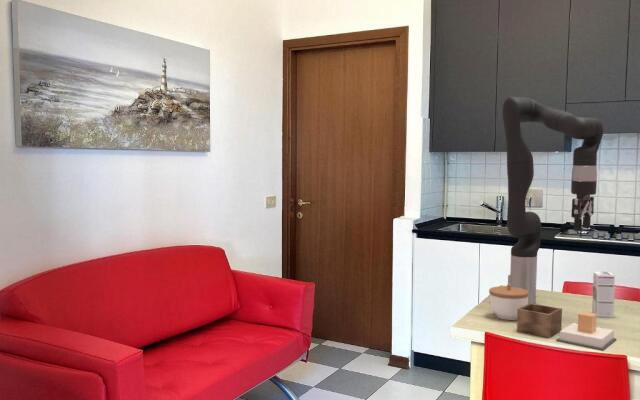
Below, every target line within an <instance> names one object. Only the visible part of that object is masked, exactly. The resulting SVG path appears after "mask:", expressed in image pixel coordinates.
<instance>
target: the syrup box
mask: <svg viewBox="0 0 640 400" xmlns="http://www.w3.org/2000/svg"><path fill="white" fill-rule="evenodd" d="M592 277H593V278H592V279H593V281H592V310H591V311H592V312H591V313H595V314H597V318H614V316H615V315H614V314H615V286H616V285H615V278H616V277H615V274H613V273H612V272H611V271H593V276H592Z"/></svg>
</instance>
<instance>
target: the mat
mask: <svg viewBox="0 0 640 400" xmlns="http://www.w3.org/2000/svg"><path fill="white" fill-rule="evenodd" d="M555 341H556V342H559V343H563V344H569V345H574V346H578V347H584V348H587V349H588V348H589V349H593V350H598V351H605V350H606V349H607V348H609V347H610V346H611V345H613V343H615V342H616V341H617V338H614V337H613V339H612V340H611V341H610V342H608V343H607V344H606V345H605V346H604V347H602V348H599V347H594V346H589V345H584V344H579V343H574V342H569V341H564V340H560V337H558V338H556V339H555Z"/></svg>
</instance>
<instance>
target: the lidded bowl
mask: <svg viewBox="0 0 640 400" xmlns="http://www.w3.org/2000/svg"><path fill="white" fill-rule="evenodd" d="M488 292H489V297H488V298H489V305H490V308H491V310H492V312H493V314H495V315H496V318H498V319H500V320H507V321H517V309H519V308H521V307H523V306H525V305H528V296H529V292H528V291H527V290H525V289H522V288H517V287H511V285H510V284H508V283H507V284H506V286H503V285H502V286H501V285H500V286H494V287H490V288H489V290H488Z"/></svg>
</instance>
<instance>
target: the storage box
mask: <svg viewBox="0 0 640 400" xmlns="http://www.w3.org/2000/svg"><path fill="white" fill-rule="evenodd" d="M562 317H563V308H561V307H554V306H549V305H543V304H538V303H533V304H532V303H530V304H527V305H525V306H523V307H521V308H519V309H517V320H516V332H517V333H522V334H527V335H532V336H536V337H537V336H538V337H541V338H542V337H543V338H547V339H550V338H552V337H553V336H555V335H557V334H560V331H561V330H562V326H563V325H562V323H563V322H562V321H563V318H562Z"/></svg>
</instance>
